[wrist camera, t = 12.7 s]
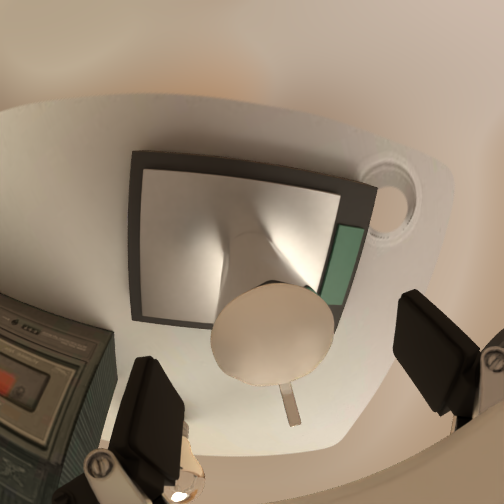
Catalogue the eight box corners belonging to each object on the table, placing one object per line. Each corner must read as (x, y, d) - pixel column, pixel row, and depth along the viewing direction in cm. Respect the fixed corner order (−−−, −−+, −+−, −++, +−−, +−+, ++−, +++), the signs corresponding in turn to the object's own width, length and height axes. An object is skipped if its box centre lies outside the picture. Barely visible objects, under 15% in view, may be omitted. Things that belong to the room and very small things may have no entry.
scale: (361, 182, 19) (382, 189, 16) (324, 317, 23) (337, 338, 20) (143, 150, 16) (128, 151, 14) (139, 303, 21) (129, 325, 18)
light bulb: (193, 435, 29) (193, 514, 18) (142, 421, 27) (130, 502, 16) (213, 411, 27) (217, 504, 16) (154, 394, 25) (140, 490, 14)
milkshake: (227, 305, 18) (238, 437, 9) (205, 230, 16) (189, 344, 7) (293, 289, 18) (350, 408, 9) (280, 213, 16) (356, 303, 7)
